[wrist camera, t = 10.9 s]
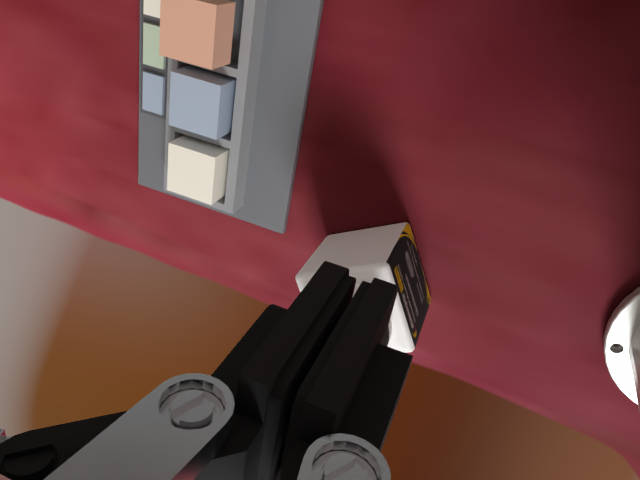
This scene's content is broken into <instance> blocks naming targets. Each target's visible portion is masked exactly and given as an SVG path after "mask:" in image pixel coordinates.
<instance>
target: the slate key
mask: <svg viewBox="0 0 640 480" xmlns="http://www.w3.org/2000/svg"><path fill="white" fill-rule="evenodd" d="M236 80H237V79H236V78H233V77H229V76H226V75H222V74H219V73H215V72H212V71H208V70H205V69H202V68H198V67H195V66H191V65H189V66H185V67H182V68H179V69H176V70H173V71H171V76H170V104H169V125H170V126H174V127H177V128H180V129H183V130H186V131H189V132H193V133H196V134H199V135H202V136H205V137H208V138H211V139H215V140H217V139H219V138H221V137H223V136H224V135H226V134H228V133H230V132H231V131H232V121H233V111H234V101H235V90H236Z"/></svg>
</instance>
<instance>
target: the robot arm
mask: <svg viewBox="0 0 640 480" xmlns="http://www.w3.org/2000/svg"><path fill="white" fill-rule="evenodd" d="M355 284H356V278H354V277H351V276H349V269H348V268H346V267H343V266H340V265H337V264H334V263H331V262H328V261H324V262H323V263H322V265H321V266H320V267H319V269H318V270H317V271H316V273H315V274H314V275H313V277H312V278H311V279H310V281H309V282H308V283H307V285H306V286H305V287H304V289H303V290H302V291H301V293H300V294H299V295H298V297H297V298H296V299H295V301H294V302H293V303H292V305H291V306H290V307H289V308H288V310H287V309H285V308H282V307H279V306H277V305H274V304H272V305H269V306H268V307H267V308H266V309H265V311H264V312H263V313H262V314H261V316H260V317H259V318H258V319H257V320H256V322H255V323H254V324H253V325H252V326H251V328H250V329H249V330H248V331H247V333H246V334H245V335H244V336H243V337H242V339H241V340H240V341H239V342H238V344H237V345H236V346H235V347H234V348H233V350H232V351H231V352H230V353H229V355H228V356H227V357H226V358H225V359H224V361H223V362H222V363H221V364H220V366H219V367H218V368H217V369H216V370H215V372H214V373H213V374H212V375H211V376H209V375H205V374H199V373H190V374H182V375H178V376H175V377H172V378H170V379H168V380H167V381H165V382H163V383H162V384H160V385H159V386H158V387H156V388H155V389H154V390H153V391H152V392H150V393H149V394H148V395H147V396H146V397H144V398H143V399H142V400H141V401H139V402H138V403H137V404H136V405H134V406H133V407H132V408H131V409H129V410H128V411H125V412H120V413H115V414H110V415H105V416H100V417H95V418H90V419H85V420H80V421H75V422H70V423H66V424H60V425H56V426H51V427H46V428H41V429H36V430H31V431H28V432H24V433H21V434H18V435H15V436H13V437H6V434H5V430H3V429H0V480H391V479H390V478H391V477H390V469H389V467H388V464H387V462H386V460H385V458H384V457H383V455H382V454H381V450H382V447H383V444H384V441H385V438H386V435H387V433H388V430H389V426H390V424H391V421H392V418H393V416H394V412H395V410H396V407H397V404H398V401H399V398H400V395H401V391H402V389H403V386H404V383H405V380H406V376H407V373H408V370H409V367H410V364H411V361H412V358H413V356H412V355H409V354H406V353H404V352H401V351H398V350H396V349H393V348H390V347H388V346H385V345H383V342H384V339H385V335H386V332H387V328H388V324H389V321H390V317H391V314H392V310H393V307H394V303H395V300H396V296H397V292H398V288H399V286H398V285H395V284H392V283H390V282H387V281H384V280H381V279H378V278H374V279H373V280H372V282H371V283H369V282H366V281H362V283H361V284H360V286H359V288H358V289H357V291H356V293H355V294H354V296H353V293H354V289H355ZM352 297H353V298H352ZM604 356H605V362H606V366H607V368H608V371H609V373H610V376H611V378H612V379H613V380H614V382H615V383H616V385H617V386H618V388H619V389H620V390H621V391H622V392H623V393H624V394H625V395H626V396H627V397H628V398H629V399H630V400H631V401H633V402H634V403H636V404H637V405H638V406H639V412H640V287H638V288H637V289H635V290H634V291H633V292H632V293H630V294H629V295H628V296H627V297H625V298H624V299H623V300H622V302H621V303H620V304H619V305H618V306H617V307H616V309H615V310H614V311H613V313H612V315H611V317H610V319H609V321H608V322H607V325H606V329H605V333H604Z"/></svg>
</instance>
